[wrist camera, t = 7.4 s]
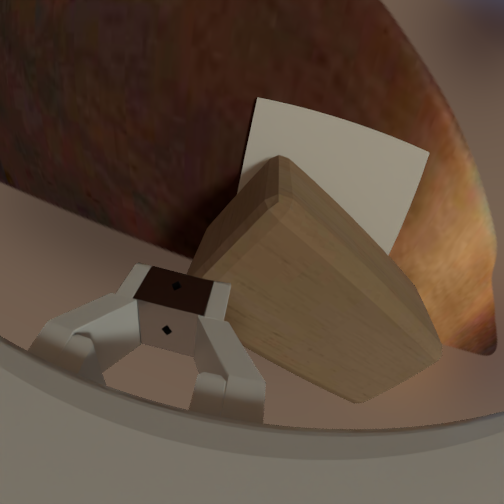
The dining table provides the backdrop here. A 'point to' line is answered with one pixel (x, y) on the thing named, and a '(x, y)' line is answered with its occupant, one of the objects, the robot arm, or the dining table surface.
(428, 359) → the wooden block
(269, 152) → the mat
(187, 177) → the dining table surface
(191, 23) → the dining table surface
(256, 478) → the robot arm
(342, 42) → the dining table surface
